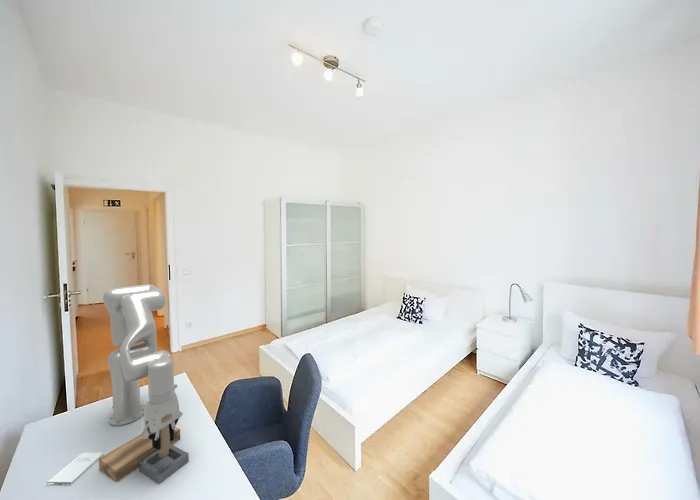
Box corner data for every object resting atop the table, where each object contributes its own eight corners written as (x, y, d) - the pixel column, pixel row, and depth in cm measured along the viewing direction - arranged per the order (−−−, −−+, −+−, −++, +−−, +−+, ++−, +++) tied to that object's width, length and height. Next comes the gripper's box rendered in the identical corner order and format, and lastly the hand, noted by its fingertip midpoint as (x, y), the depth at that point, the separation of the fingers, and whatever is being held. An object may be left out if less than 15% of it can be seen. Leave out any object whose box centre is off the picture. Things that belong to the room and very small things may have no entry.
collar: (138, 470, 100) (138, 462, 99) (168, 450, 109) (168, 442, 109) (159, 484, 95) (158, 475, 95) (188, 461, 104) (188, 453, 104)
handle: (162, 463, 98) (160, 421, 97) (151, 455, 101) (150, 415, 100) (176, 453, 102) (174, 413, 101) (165, 446, 105) (164, 407, 104)
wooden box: (99, 469, 100) (98, 458, 100) (163, 429, 120) (163, 420, 119) (116, 482, 95) (116, 470, 95) (180, 438, 115) (180, 429, 115)
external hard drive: (46, 486, 94) (81, 456, 106) (71, 486, 94) (103, 456, 106) (46, 482, 94) (81, 452, 106) (71, 482, 94) (103, 452, 106)
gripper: (178, 380, 109) (179, 426, 110) (128, 404, 94) (131, 456, 95) (191, 385, 106) (192, 432, 107) (142, 411, 91) (144, 465, 92)
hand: (163, 443), depth 101 cm, fingers closed on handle, 3 cm apart
